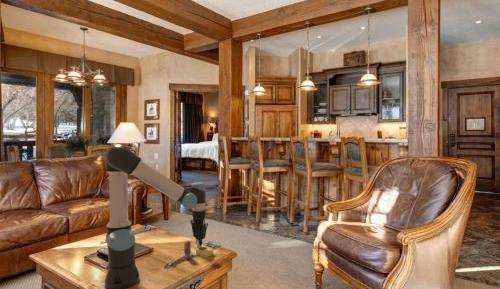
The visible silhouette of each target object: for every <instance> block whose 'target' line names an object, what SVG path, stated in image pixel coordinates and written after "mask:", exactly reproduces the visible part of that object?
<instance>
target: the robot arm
mask: <svg viewBox="0 0 500 289" xmlns="http://www.w3.org/2000/svg"><path fill="white" fill-rule="evenodd" d="M104 152H105V153H104V158H105V173H107V174H108V177H109V179H108V180H109V184H108V185H109V186H108V187H109V191H108V192H109V193H108V194H109V222H107V224H106V235H105V241H106V247H107V251H108V252H107V255H108V257H107V258H108V260H107V262H108V269H107V272H106V274H105V277H104V287H105V288H106V289H129V288H132V287H133V286H135V285H136V284H137V283H138V282H139V281H140V273H139V269H138V267H137V264H136V244H135V243H136V237H135V233H134V232H133V231H132V222H131V220H129V192H128V191H129V190H128V187H129V186H128V185H129V184H128V183H129V179H128V176H133V177H135V178H137V179H139V180H141V181H142V182H143V183H145V184H147V185H149V186H150V187H152V188H154V189H156V190H157V191H159V192H161V193H162V194H164V195H166V196H167V197H169V198H170V201H171V203H179V204H180V205H182V206H183V207H184V208H186V209H191V210H192V211H191V213H192V214H191V216H192V219H191V220H190V226H191V230H192V236H193V238H195V245H196V244H197V248H200V247H202V245H203V240H204V239H206V235H207V230H208V226H209V222H208V223H207V222H206V219H205V217H206V215H207V214H206V211H207V210H206V191H207V190H206V183H204V182H202V181H198V182H197V181H196V182H193V183H191V186H187V187H183V186H181V185H180V184H178V183H176V182H175V181H174V180H172V179H170V178H169V177H167V176H166V175H164V174H162V173H161V172H159V171H158V170H156V169H155V168H153V167H152V166H150V165H148V164H147V163H145V162H144V161H143V160H142V157H139V156H138V155H137V154H136V153H135V152H133V151H132V150H131V148H129V147H127V145H125V144H123V143H113V144H112V145H110V146H109V147H107V148H106V150H105V151H104Z"/></svg>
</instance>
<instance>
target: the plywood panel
mask: <svg viewBox="0 0 500 289" xmlns="http://www.w3.org/2000/svg"><path fill="white" fill-rule="evenodd" d="M202 246H206V247H208V248H211V249H213V253H214V254H215V253H218V252H220V250H219V249H216V248H213V247H210V246H208V245H206V244H205V245H204V244H202ZM196 249H197V244H196V243H195V244H194V245H191V253H190V256H194V257H197V258H198V259H205V258H204V257H202V256H199V255H197V254H196ZM180 251H181V252H184V248H183V249H181V250H180Z"/></svg>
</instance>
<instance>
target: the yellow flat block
mask: <svg viewBox="0 0 500 289" xmlns="http://www.w3.org/2000/svg"><path fill="white" fill-rule="evenodd" d="M206 246H207V245H205V246H202V247H200V248H197V249H196V254H197V255H199V256H202V257H204V258H203V259H207V258H209V257H212V256H213V255H215V253H213V249H211V248H212V247H211V248H208V247H209V246H208V247H206Z"/></svg>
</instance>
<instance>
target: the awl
mask: <svg viewBox="0 0 500 289" xmlns="http://www.w3.org/2000/svg"><path fill="white" fill-rule="evenodd" d="M183 245H184V246H183V247H184V248H183V249H184V251H183V253H184V258H185V260H189V259H190V258H191V254H190V253H191V246H192V245H191V241H190V240H185V241H184V242H183Z"/></svg>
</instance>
